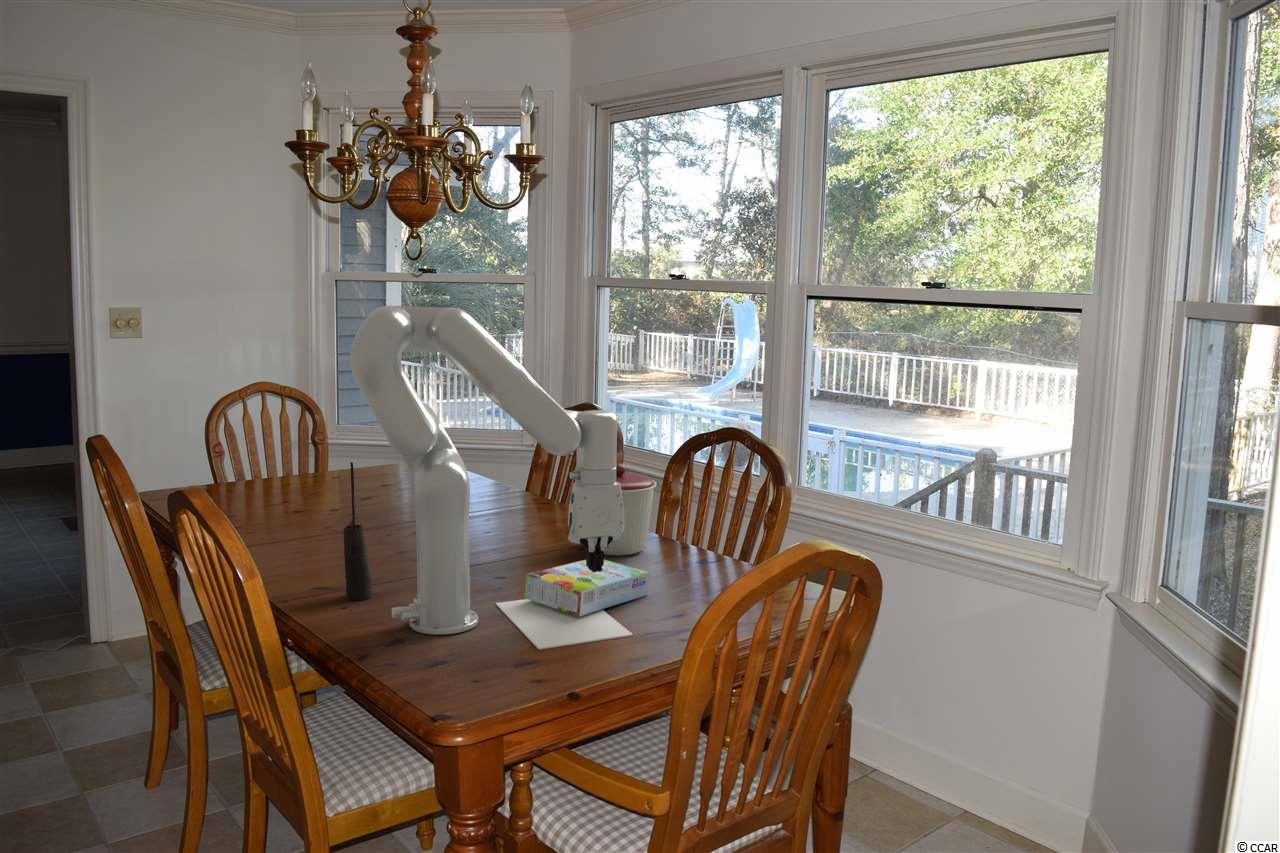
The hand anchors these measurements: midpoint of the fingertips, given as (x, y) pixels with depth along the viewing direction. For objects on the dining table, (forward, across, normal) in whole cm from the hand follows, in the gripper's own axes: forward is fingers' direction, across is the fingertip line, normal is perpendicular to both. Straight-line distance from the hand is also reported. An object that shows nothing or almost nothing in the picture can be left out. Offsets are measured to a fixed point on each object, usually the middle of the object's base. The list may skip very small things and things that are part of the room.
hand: (594, 569), depth 190 cm
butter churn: (+10, -40, +29) cm, 50 cm away
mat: (+9, -7, 0) cm, 11 cm away
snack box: (+6, +6, +2) cm, 9 cm away
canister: (+9, +22, +40) cm, 47 cm away
